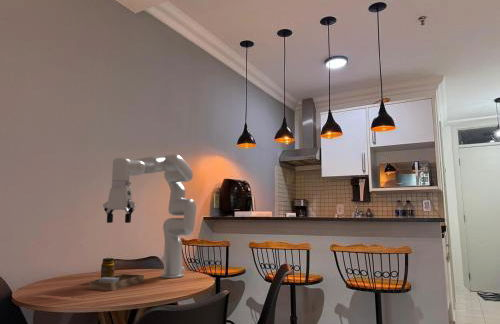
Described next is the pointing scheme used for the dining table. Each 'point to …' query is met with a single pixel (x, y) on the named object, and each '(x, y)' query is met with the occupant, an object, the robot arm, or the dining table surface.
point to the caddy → (123, 282)
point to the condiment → (107, 267)
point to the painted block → (108, 279)
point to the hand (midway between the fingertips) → (118, 222)
